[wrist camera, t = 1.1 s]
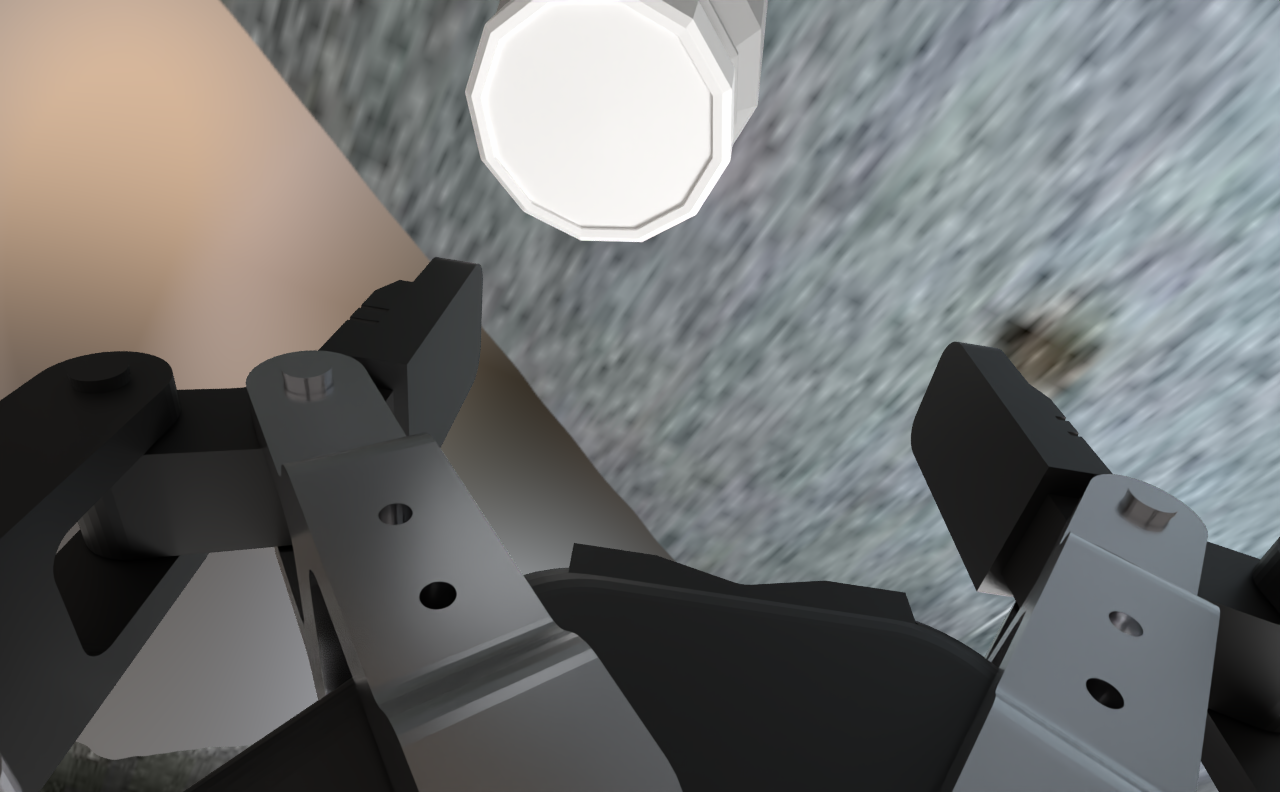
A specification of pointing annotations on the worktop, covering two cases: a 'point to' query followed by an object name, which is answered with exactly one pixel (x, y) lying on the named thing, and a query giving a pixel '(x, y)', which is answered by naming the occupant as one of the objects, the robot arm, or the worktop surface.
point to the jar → (614, 107)
